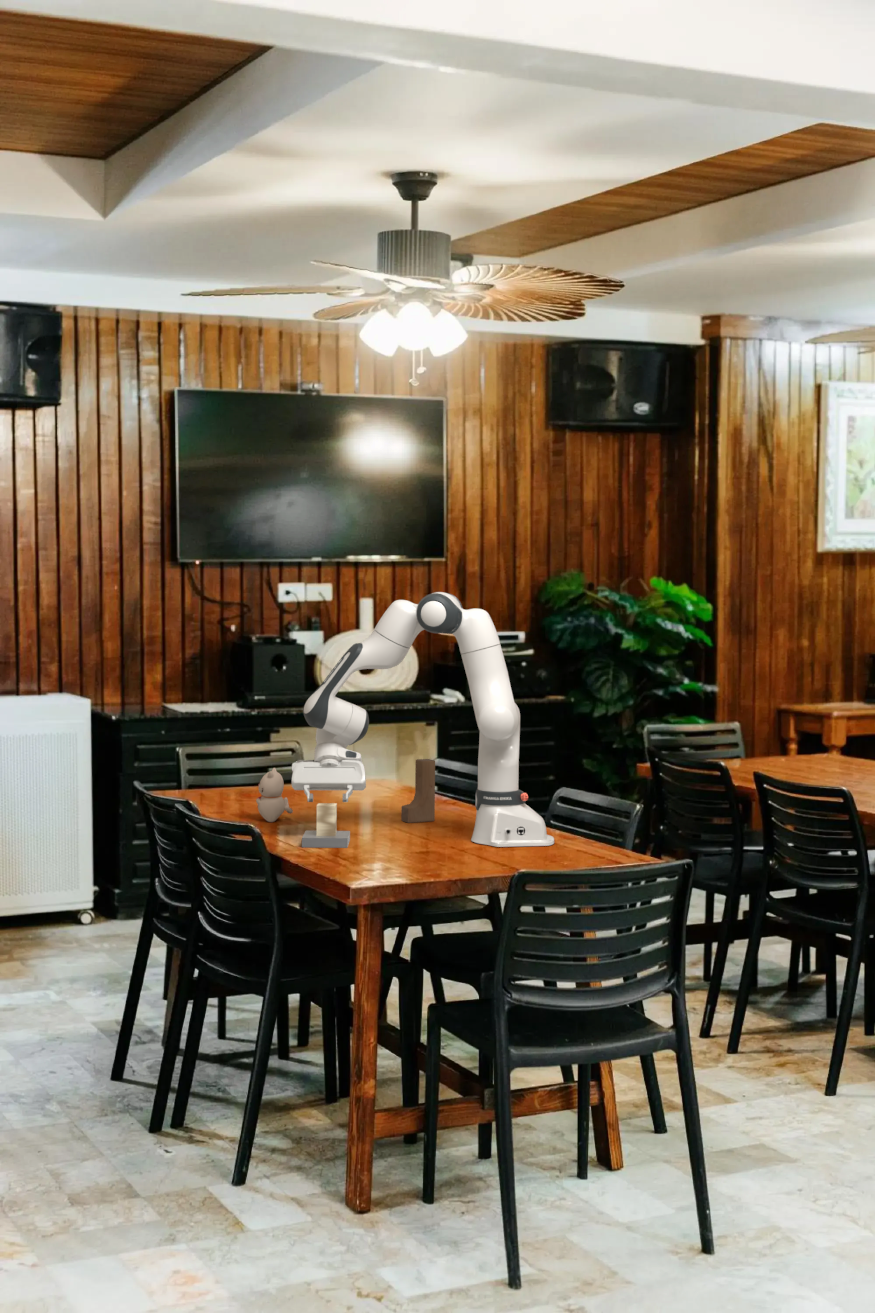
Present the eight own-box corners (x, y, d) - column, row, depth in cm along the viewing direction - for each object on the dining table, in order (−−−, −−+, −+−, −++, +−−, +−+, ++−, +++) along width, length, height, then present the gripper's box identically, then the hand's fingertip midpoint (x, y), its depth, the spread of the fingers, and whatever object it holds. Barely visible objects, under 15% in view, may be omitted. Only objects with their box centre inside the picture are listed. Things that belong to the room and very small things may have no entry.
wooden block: (407, 823, 445) (408, 761, 445) (400, 821, 449) (401, 760, 449) (435, 821, 450) (435, 760, 449) (428, 819, 454) (428, 758, 453)
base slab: (350, 840, 416) (350, 831, 415) (347, 847, 404) (347, 838, 403) (305, 839, 416) (305, 830, 415) (301, 847, 404) (301, 838, 403)
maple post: (336, 833, 412) (336, 803, 412) (335, 836, 407) (335, 806, 407) (317, 832, 412) (318, 803, 412) (316, 835, 407) (316, 805, 407)
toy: (260, 816, 456) (260, 766, 455) (295, 817, 455) (295, 766, 455) (253, 822, 444) (254, 771, 443) (289, 823, 443) (290, 771, 442)
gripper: (291, 753, 419) (288, 793, 409) (366, 753, 419) (364, 793, 409) (293, 767, 423) (289, 807, 414) (367, 767, 423) (365, 808, 414)
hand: (327, 800), depth 412 cm, fingers open, 8 cm apart
